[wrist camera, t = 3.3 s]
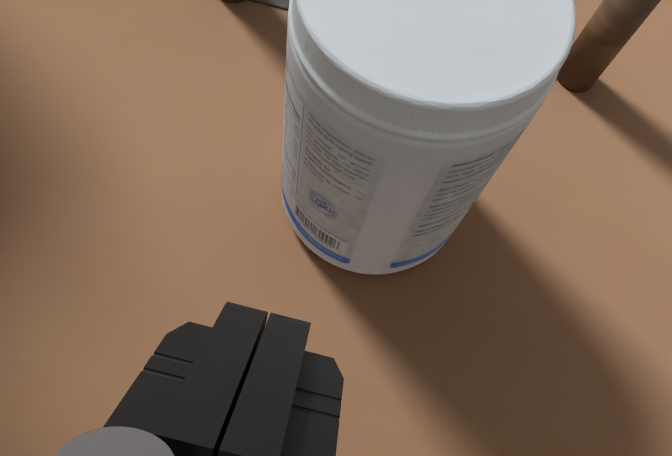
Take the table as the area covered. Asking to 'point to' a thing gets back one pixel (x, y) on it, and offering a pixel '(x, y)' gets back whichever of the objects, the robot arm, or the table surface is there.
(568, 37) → the supplement tub
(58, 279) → the table surface
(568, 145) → the table surface
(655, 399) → the table surface
